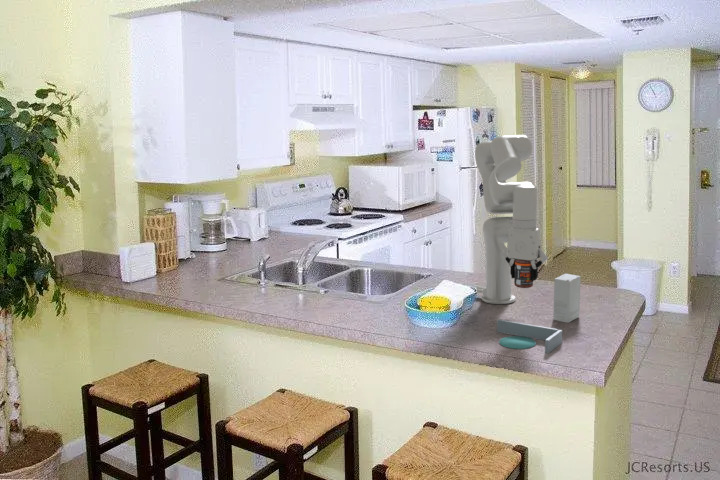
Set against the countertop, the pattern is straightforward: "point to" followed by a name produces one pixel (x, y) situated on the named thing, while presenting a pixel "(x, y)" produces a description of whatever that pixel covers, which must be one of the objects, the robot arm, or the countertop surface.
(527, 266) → the supplement bottle
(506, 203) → the robot arm
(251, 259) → the countertop surface
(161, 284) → the countertop surface
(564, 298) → the skincare box
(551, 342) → the divider wall
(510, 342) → the pad
